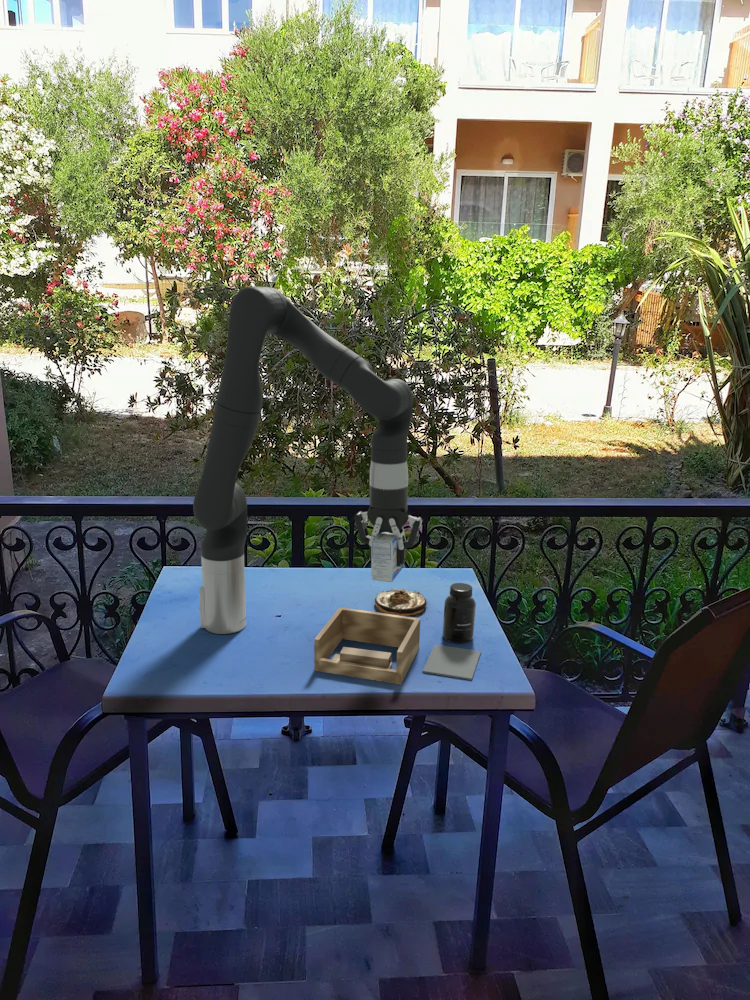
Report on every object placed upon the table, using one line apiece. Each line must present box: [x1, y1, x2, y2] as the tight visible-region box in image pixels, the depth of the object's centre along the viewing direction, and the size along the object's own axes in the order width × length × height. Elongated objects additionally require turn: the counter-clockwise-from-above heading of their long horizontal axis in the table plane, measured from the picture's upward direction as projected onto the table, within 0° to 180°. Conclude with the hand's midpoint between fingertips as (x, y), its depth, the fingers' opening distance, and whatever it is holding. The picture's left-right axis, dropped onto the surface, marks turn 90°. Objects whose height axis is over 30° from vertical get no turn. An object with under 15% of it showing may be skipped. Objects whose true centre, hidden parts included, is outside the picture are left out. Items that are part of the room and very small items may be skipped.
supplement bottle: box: [442, 582, 477, 644], centre depth 176 cm, size 7×7×12 cm
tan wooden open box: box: [313, 606, 421, 685], centre depth 166 cm, size 18×16×7 cm
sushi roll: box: [374, 588, 428, 617], centre depth 192 cm, size 15×15×4 cm
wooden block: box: [331, 646, 393, 669], centre depth 162 cm, size 12×3×4 cm, turn 74°
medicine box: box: [370, 532, 404, 583], centre depth 162 cm, size 8×4×9 cm, turn 162°
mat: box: [422, 644, 482, 681], centre depth 166 cm, size 10×12×1 cm
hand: (387, 563), depth 162 cm, fingers closed on medicine box, 4 cm apart
